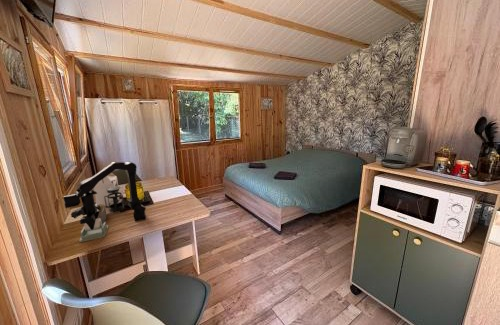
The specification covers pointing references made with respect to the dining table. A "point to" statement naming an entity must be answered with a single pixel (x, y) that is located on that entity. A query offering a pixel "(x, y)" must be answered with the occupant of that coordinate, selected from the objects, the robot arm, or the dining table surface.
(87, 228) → the roll
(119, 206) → the french press
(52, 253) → the dining table surface
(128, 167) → the robot arm
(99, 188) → the gable box
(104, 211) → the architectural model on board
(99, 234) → the holder
